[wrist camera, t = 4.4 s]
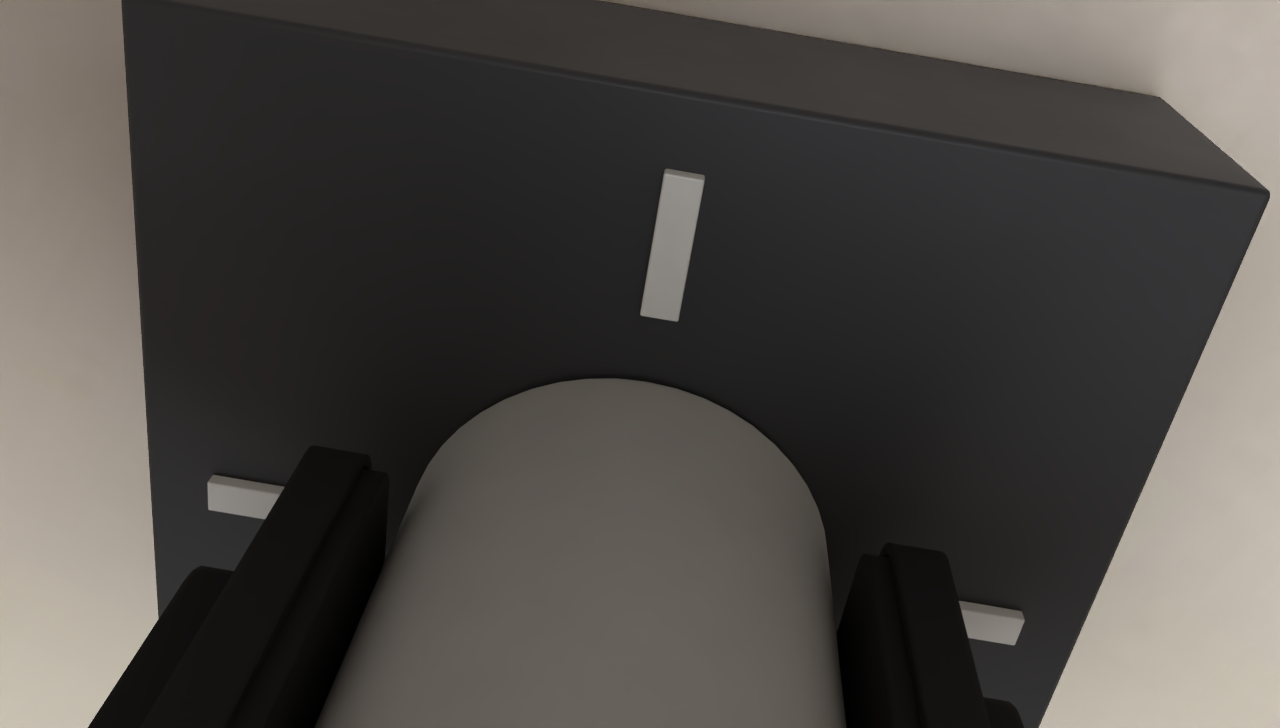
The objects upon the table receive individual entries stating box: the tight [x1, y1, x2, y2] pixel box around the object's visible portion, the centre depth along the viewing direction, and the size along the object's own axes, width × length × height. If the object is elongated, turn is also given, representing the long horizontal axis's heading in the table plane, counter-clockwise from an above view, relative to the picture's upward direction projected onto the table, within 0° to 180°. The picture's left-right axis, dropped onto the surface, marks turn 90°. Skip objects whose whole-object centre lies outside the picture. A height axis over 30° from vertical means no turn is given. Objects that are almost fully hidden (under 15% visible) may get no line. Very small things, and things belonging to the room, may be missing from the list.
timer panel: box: [122, 0, 1270, 728], centre depth 14 cm, size 10×10×3 cm
